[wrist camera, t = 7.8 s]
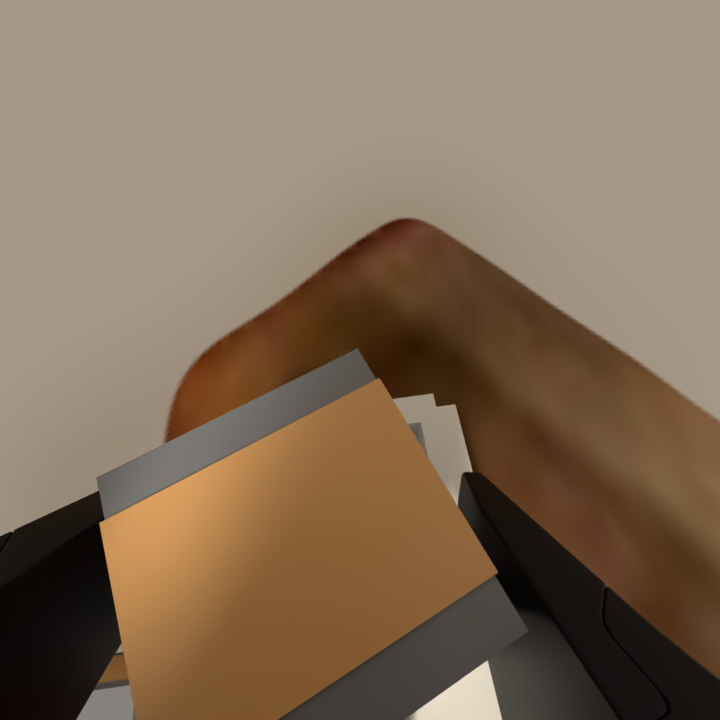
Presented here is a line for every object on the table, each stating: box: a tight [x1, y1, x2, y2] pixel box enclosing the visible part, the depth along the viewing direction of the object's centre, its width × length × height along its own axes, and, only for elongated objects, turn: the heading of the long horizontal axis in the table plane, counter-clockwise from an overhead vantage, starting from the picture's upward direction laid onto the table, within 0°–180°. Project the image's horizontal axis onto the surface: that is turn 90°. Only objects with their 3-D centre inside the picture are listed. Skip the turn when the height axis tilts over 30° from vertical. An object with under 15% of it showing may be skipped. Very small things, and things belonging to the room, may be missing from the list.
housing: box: [393, 394, 502, 720], centre depth 14 cm, size 13×12×3 cm
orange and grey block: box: [97, 348, 528, 720], centre depth 9 cm, size 5×5×10 cm
